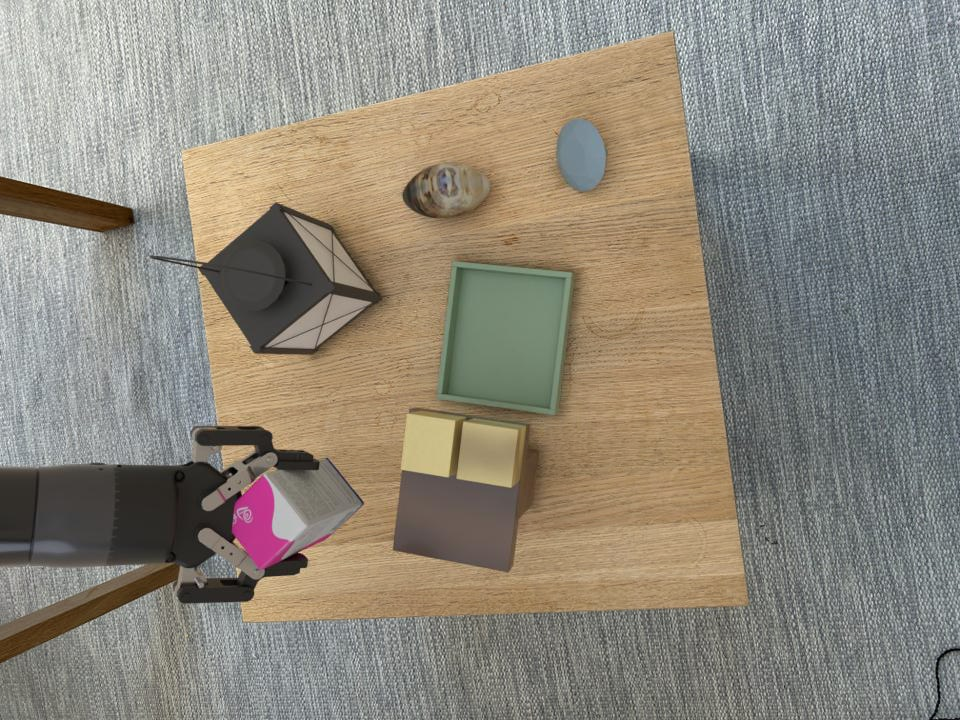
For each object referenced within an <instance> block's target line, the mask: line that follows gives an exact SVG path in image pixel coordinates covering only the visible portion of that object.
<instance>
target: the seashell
mask: <svg viewBox="0 0 960 720" xmlns="http://www.w3.org/2000/svg"><path fill="white" fill-rule="evenodd" d="M490 191H491V182H490V180H489V178H488V177H487V176H486V175H485V173H483V172H482V171H481V170H479V169H478V168H475V167H473V166H471V165H469V164H464V163H459V162H440V163H436V164H433V165H430V166H427V167H426V168H424V169H421V171H419V172H418V173H416V174H415V175H413V177H412V178H411V179H410V180H409V181H408V182H407V184H406V185H405V187H404V188H403V190H402V194H401V195H402V196H401V198H402V200H403V203H404V204H405V205H406V206H407V207H408V208H409V209H411V210H412V211H413V212H415V213H416V214H418V215H420V216H423V217H427V218H431V219H452V218H456V217H460V216H463V215H465V214H468V213H470V212H471V211H473V210H475V209H476V208H478V207H479V206H480V205H481V204H482V203H483V202H484V201H485V200H486V199H487V197H488V195H489V193H490Z"/></svg>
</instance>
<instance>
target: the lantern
mask: <svg viewBox="0 0 960 720" xmlns="http://www.w3.org/2000/svg"><path fill="white" fill-rule="evenodd" d="M335 231H336V230H335V229H334V227H333V226H332V224H329V223H327V222H325V221H323V220H320V219H318V218H315V217H313V216H311V215H308V214H305V213H303V212H300V211H299V210H296V209H293V208H291V207H288V206H286V205H284V204H282V203H279V202H276V201H275V202H274V203H273V204H272V205H271V206H269V210H267V211H266V212H264V214H262V215H261V216H260V217H259V218H258V219H256V220H255V221H254V222H253V223H252V224H251V225H250V226H248V227H247V228H246V229H245V230H244V231H243V232H241V233H240V234H239V235H238V236H237V237H235V238H234V240H232V241H231V242H229V244H227V245H226V246H225V247H224V248H222V249H221V250H220V251H219V252H218V253H217V254H215V255H214V256H213V257H212V258H211V259H210V260H208V261H207V262H204V261H198V260H191V259H186V258H178V257H171V256H162V255H149V258H150V259H152V260H157V261H160V262H165V263H170V264H174V265H180V266H185V267H190V268H195V269H198V271H199V273H200V274H201V275H202V276H203V277H205V279H206V280H207V282H208V283H209V285H210V286H211V288H212V289H213V291H214V292H215V293H216V295H217V297H218V298H219V300H220V301H221V303H222V305H223V306H224V307H225V309H226V310H227V312H228V313H229V315H230V316H231V318H232V320H233V321H234V322H235V324H236V325H237V327H238V328H239V330H240V331H241V333H242V334H243V336H244V337H245V339H246V340H247V342H248V344H249V345H250V346H249V348H250V350H251V351H252V353H253V354H255V355H295V356H296V355H297V356H299V355H300V356H301V355H302V356H312V355H314V354H315V353H317V352H318V351H319V350H318V349H319V348H321V347H322V346H323V345H324V344H325V343H327V342H328V341H329V340H331V339H332V338H333V337H335V335H337V334H338V333H339V332H340V331H342V330H343V329H345V328H346V327H347V326H348V325H349V324H351V323H352V322H353V321H354V320H356V319H357V318H358V317H359V316H361V315H362V314H363V313H364V312H366V311H367V310H368V309H370V308H371V307H372V306H373V305H374V304H378V303H380V302H381V301H382V300H383V296H381V294H380V293H379V292H377V290H375V288H374V286H373V285H372V283H371V282H370V281H369V280H368V278H367V276H365V274H364V273H363V270H361V268H360V267H359V265H358V264H357V262H356V261H355V260H354V258H353V256H352V255H351V253H350V252H349V251H348V250H347V249H346V247H345V246H344V244H343V242H342V241H341V240H340V239H339V236H338V235H337V234H336V233H335ZM194 264H196V265H194ZM199 265H200V266H199Z"/></svg>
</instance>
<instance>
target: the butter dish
mask: <svg viewBox="0 0 960 720" xmlns="http://www.w3.org/2000/svg"><path fill="white" fill-rule="evenodd" d="M575 280H576V275H575V274H574V273H573V272H572V271H563V270H562V271H561V270H552V269H551V270H550V269H540V268H531V267H530V268H529V267H519V266H510V265H509V266H508V265H498V264H489V263H478V262H476V263H475V262H468V261H467V262H466V261H456V260H452V261H451V270H450V279H449V286H448V296H447V303H446V313H445V321H444V329H443V337H442V346H441V355H440V361H439V371H438V378H437V379H438V381H437V387H436V388H437V389H436V396H435V398H436V400H442V401H449V402H450V401H451V402H456V403H457V402H458V403H465V404H471V405H472V404H473V405H479V406H487V407H491V408H498V409H499V408H501V409H507V410H514V411H521V412H528V413H534V414H535V413H536V414H543V415H550V416H555V415H558V414H559V410H560V403H561V395H562V388H563V387H562V386H563V379H564V370H565V362H566V355H567V354H566V353H567V345H568V339H569V338H568V337H569V329H570V321H571V314H572V313H571V312H572V305H573V296H574V289H575V282H576V281H575Z"/></svg>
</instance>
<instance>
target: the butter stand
mask: <svg viewBox="0 0 960 720" xmlns="http://www.w3.org/2000/svg"><path fill="white" fill-rule="evenodd" d="M416 411H427V412H434V413H441V414H448V415H455V416H462V417H466V421H464V422H463V427H462V435H461V444H460V452H459V460H458V469H457V473H456V474H454V475H452V476H450V477H442V476H436V475H430V474H424V473H418V472H412V471H406V470H401V477H400V485H399V493H398V501H397V510H396V519H395V526H394V527H395V528H394V535H393V545H392V551H394V552H400V553H403V554H409V555H415V556H421V557H424V558H431V559H436V560H441V561H446V562H452V563H457V564H462V565H467V566H472V567H477V568H483V569H488V570H494V571H498V572H504V573H509V572H510V571H511V570H512V568H513V567H514V563H515V555H516V546H517V537H518V531H519V530H518V529H519V521H520V519H521V518H522V517H523V516H524V515H525V513H526V512H527V511H528V510H529V509H530V508H531V507H532V505H533V504H534V497H535V489H536V488H535V487H536V480H537V472H538V465H539V464H538V462H539V454H540V451H539V450H535V449H529V441H530V440H529V439H530V432H531V423H527V422H521V421H514V420H507V419H502V418H501V419H500V418H493V417H486V416H480V415H479V416H478V415H474V414H473V415H472V414H465V413H459V412H451V411H444V410H439V409H429V408H423V407H412V408H408V413H412V412H416Z"/></svg>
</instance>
